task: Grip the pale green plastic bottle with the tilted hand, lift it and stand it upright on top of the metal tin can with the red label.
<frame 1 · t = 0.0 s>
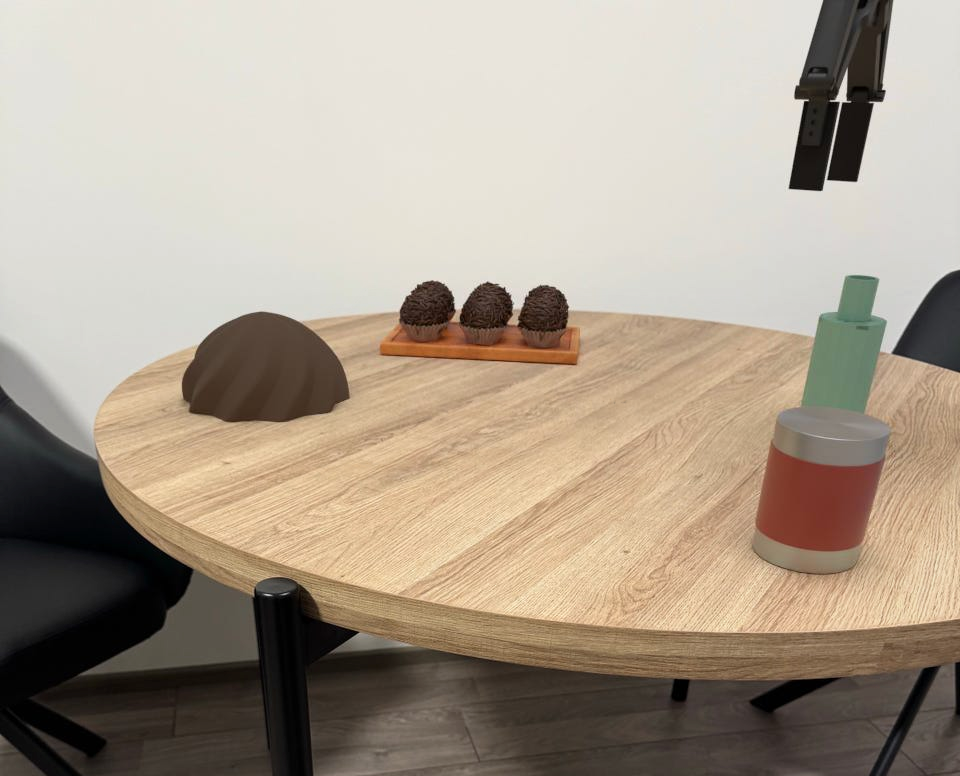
hand: (824, 185, 82), 26 cm above the table, tool pointing down, fingers open, 13 cm apart
bottle: (825, 439, 101), on the table
decorative dome: (267, 399, 110), on the table
can: (803, 551, 76), on the table
chocolate truffle: (484, 347, 135), on the table
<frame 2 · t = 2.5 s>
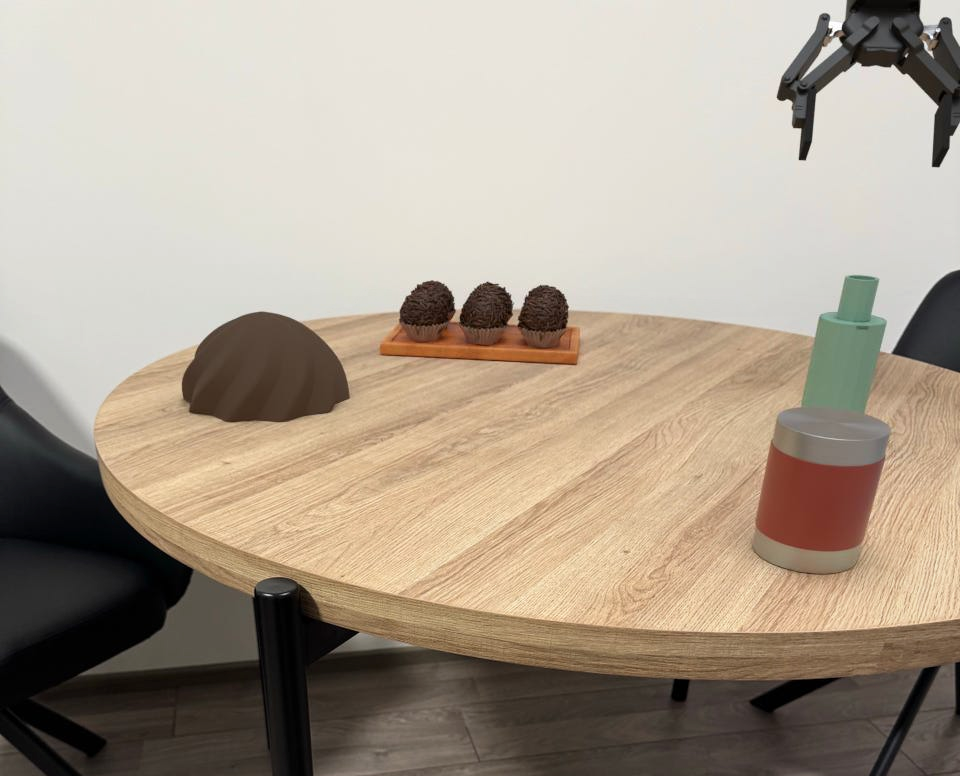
hand: (872, 154, 95), 28 cm above the table, tool tilted 45°, fingers open, 13 cm apart
nothing on the table moved.
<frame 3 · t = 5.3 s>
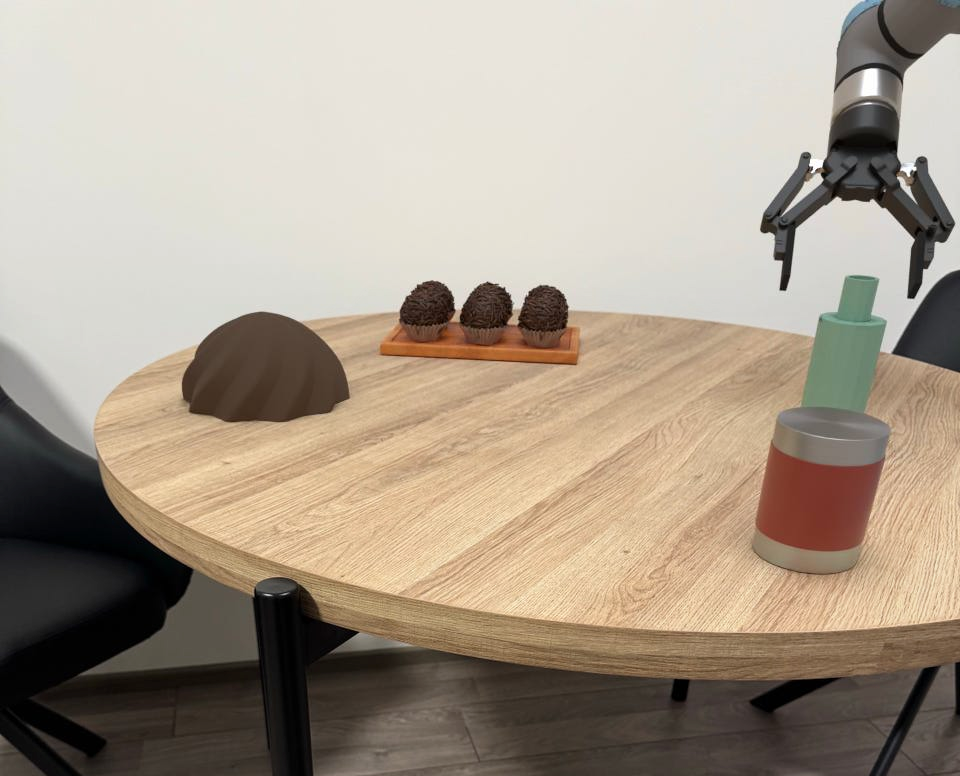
hand: (848, 287, 99), 15 cm above the table, tool tilted 45°, fingers open, 13 cm apart
nothing on the table moved.
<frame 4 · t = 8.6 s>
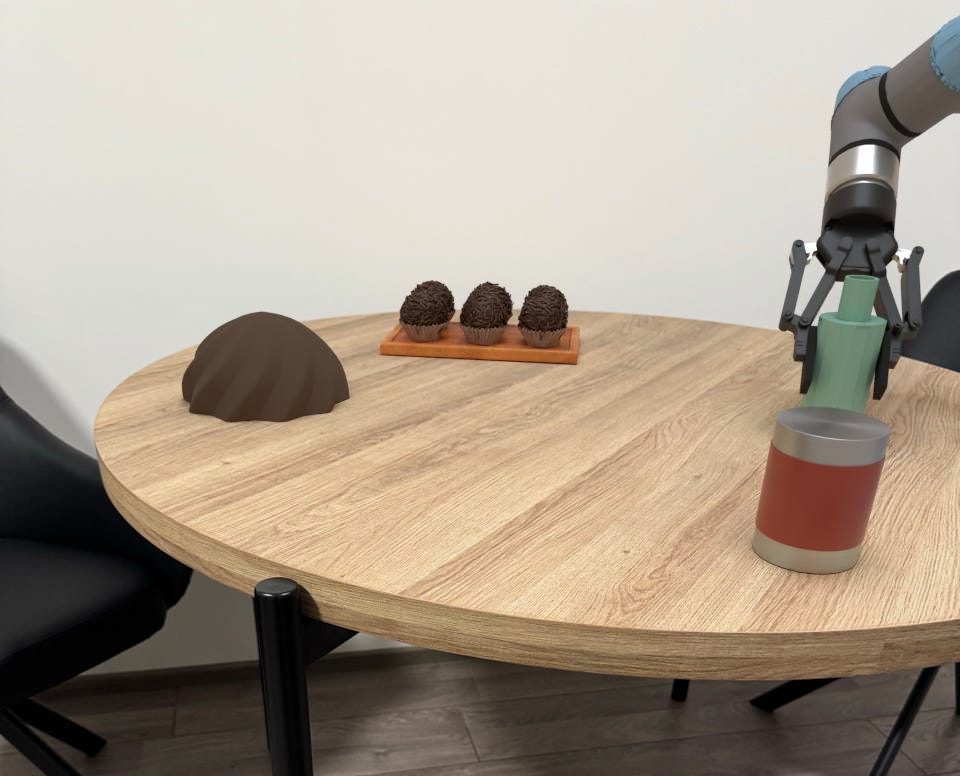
hand: (842, 390, 95), 6 cm above the table, tool tilted 45°, fingers closed on bottle, 7 cm apart
bottle: (825, 439, 101), on the table, touching gripper
everything else where it was.
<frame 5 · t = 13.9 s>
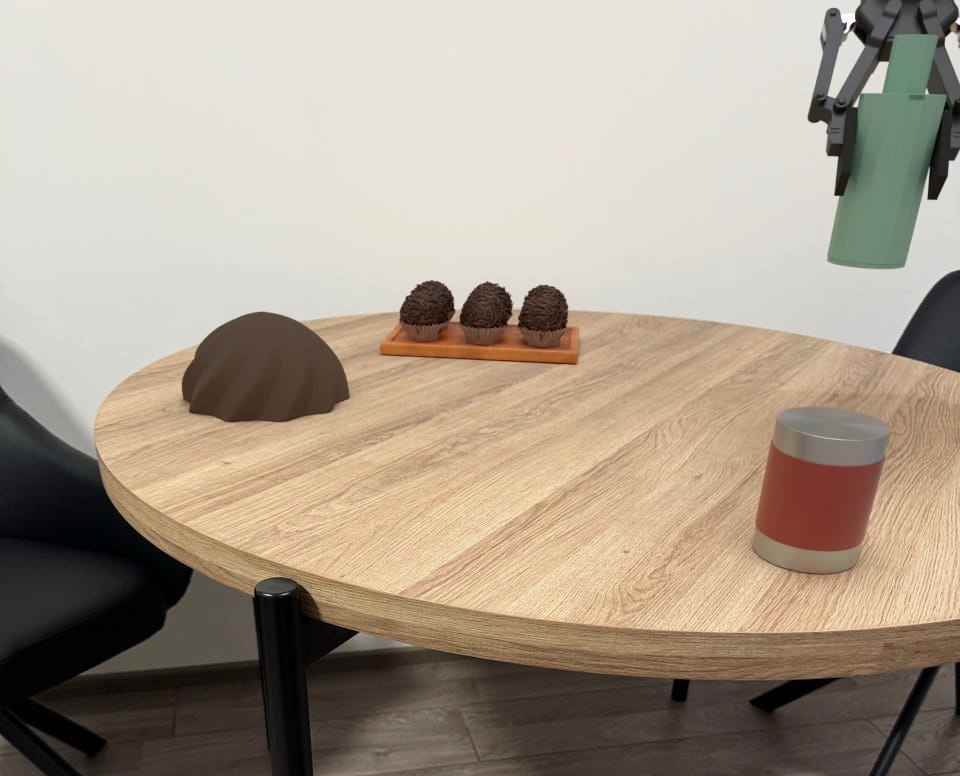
hand: (889, 185, 75), 26 cm above the table, tool tilted 45°, fingers closed on bottle, 7 cm apart
bottle: (865, 263, 81), point 20 cm above the table, touching gripper
everything else where it was.
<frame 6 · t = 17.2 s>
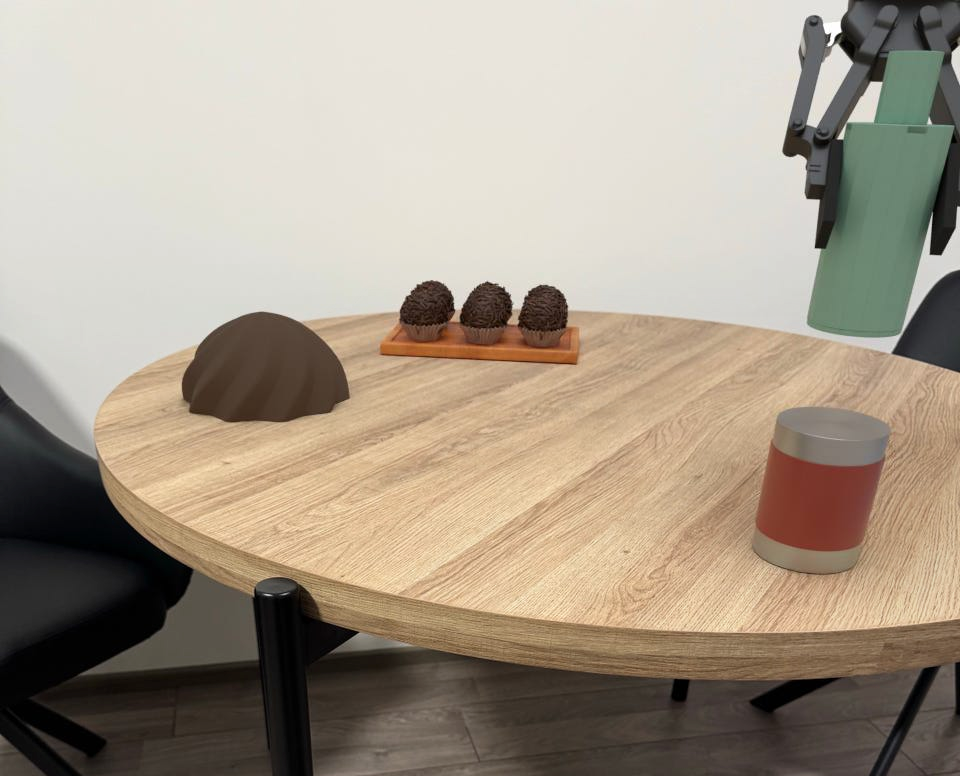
hand: (882, 238, 60), 25 cm above the table, tool tilted 45°, fingers closed on bottle, 7 cm apart
bottle: (853, 327, 66), point 18 cm above the table, touching gripper
everything else where it was.
when the fingers open (17 cm above the table, at t = 19.5 s): bottle stays where it is, resting on can.
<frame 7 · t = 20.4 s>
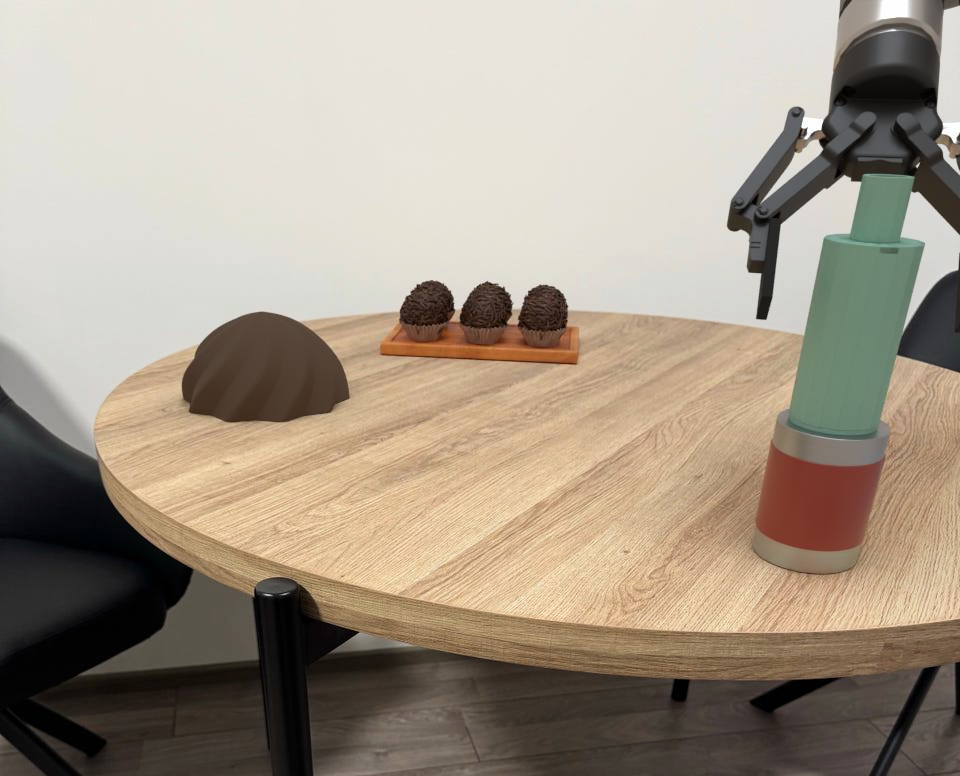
hand: (863, 315, 64), 19 cm above the table, tool tilted 45°, fingers open, 13 cm apart
bottle: (832, 422, 70), point 11 cm above the table, touching can
can: (803, 551, 76), on the table, touching bottle
everything else where it was.
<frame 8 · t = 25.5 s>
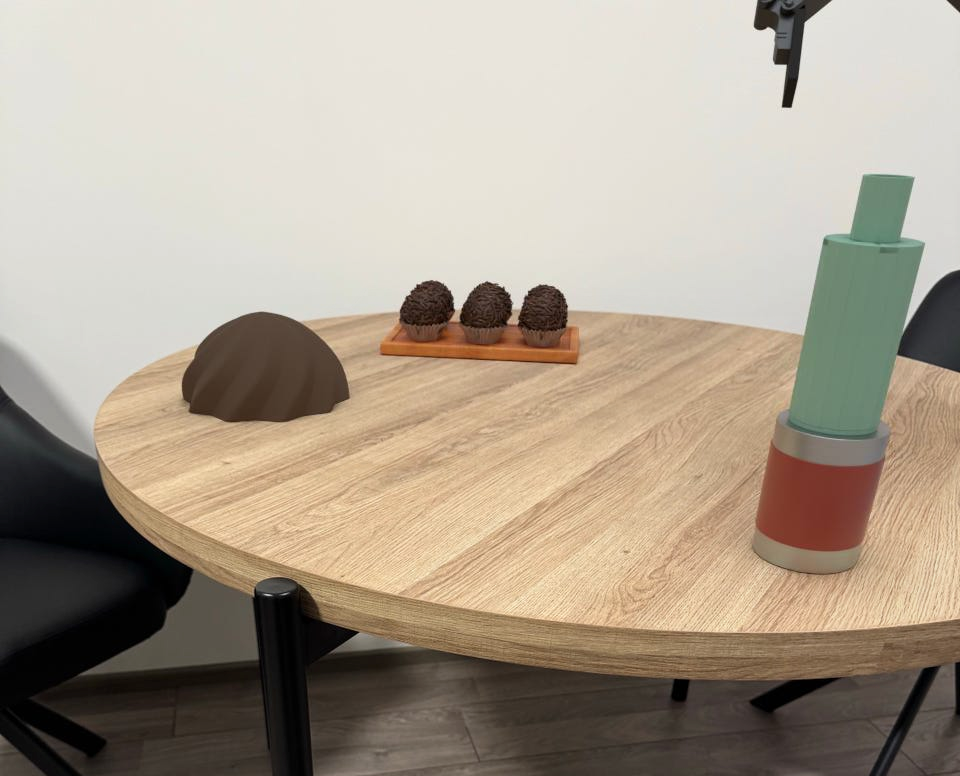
hand: (883, 96, 68), 33 cm above the table, tool tilted 45°, fingers open, 13 cm apart
nothing on the table moved.
at the end: bottle 0.1 cm off-centre on the can, point 11.0 cm above the can's base; bottle tilted 0°; can tilted 0° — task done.
